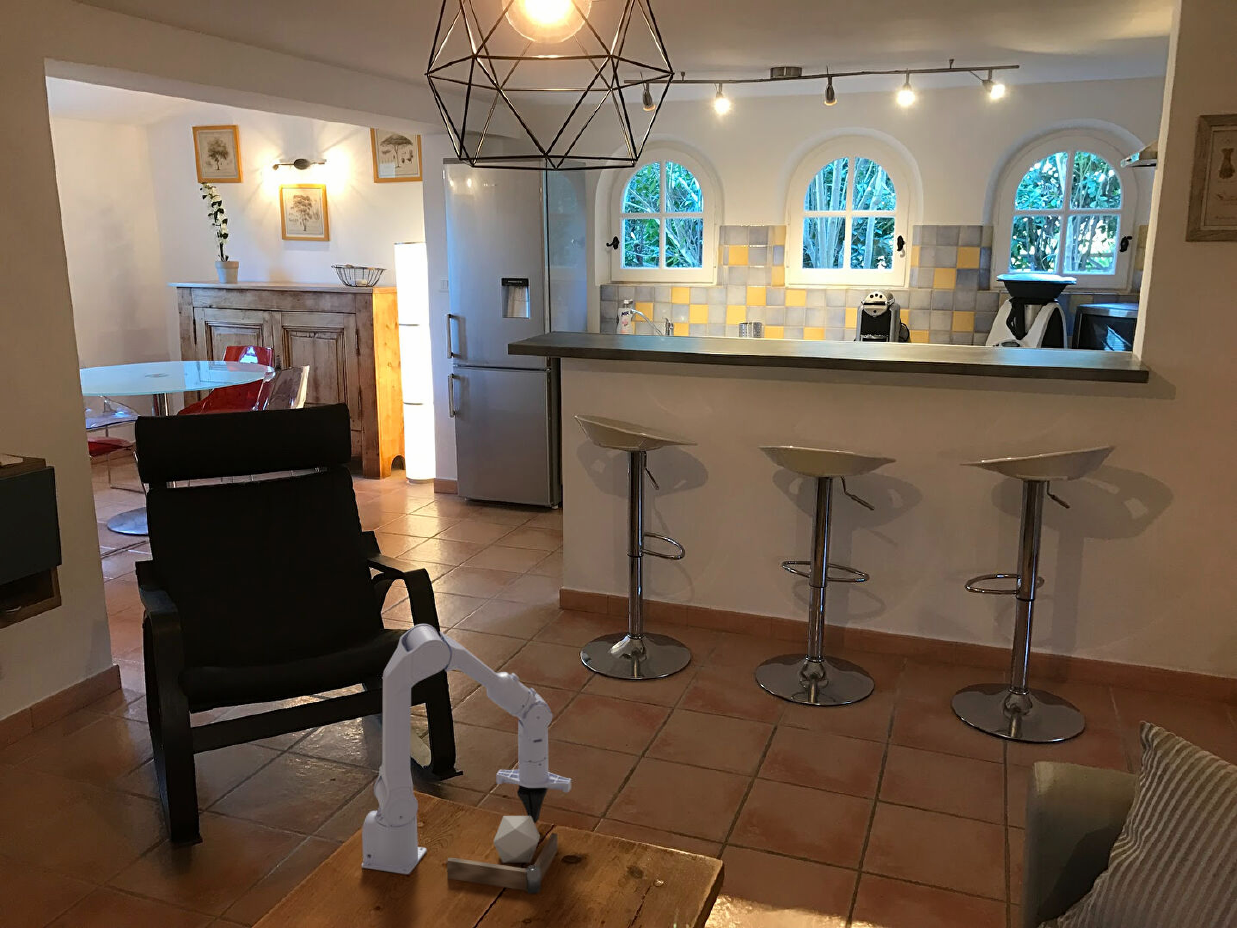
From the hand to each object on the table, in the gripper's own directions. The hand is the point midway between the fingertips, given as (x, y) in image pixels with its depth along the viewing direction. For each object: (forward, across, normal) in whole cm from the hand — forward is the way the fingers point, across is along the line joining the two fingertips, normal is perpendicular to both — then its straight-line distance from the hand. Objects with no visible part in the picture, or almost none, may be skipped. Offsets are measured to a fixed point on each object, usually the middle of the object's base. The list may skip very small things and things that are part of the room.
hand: (534, 820), depth 195 cm
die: (+2, 0, +10) cm, 10 cm away
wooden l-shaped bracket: (+2, +1, +13) cm, 13 cm away
